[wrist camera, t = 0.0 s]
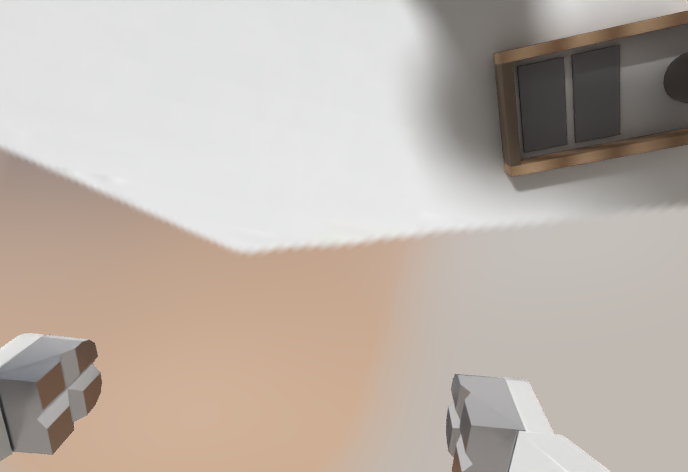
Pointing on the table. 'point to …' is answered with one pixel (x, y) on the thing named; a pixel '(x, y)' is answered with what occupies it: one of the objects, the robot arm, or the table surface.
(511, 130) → the trap box
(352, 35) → the table surface
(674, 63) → the coffee cup
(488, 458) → the robot arm
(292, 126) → the table surface
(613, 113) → the mats
